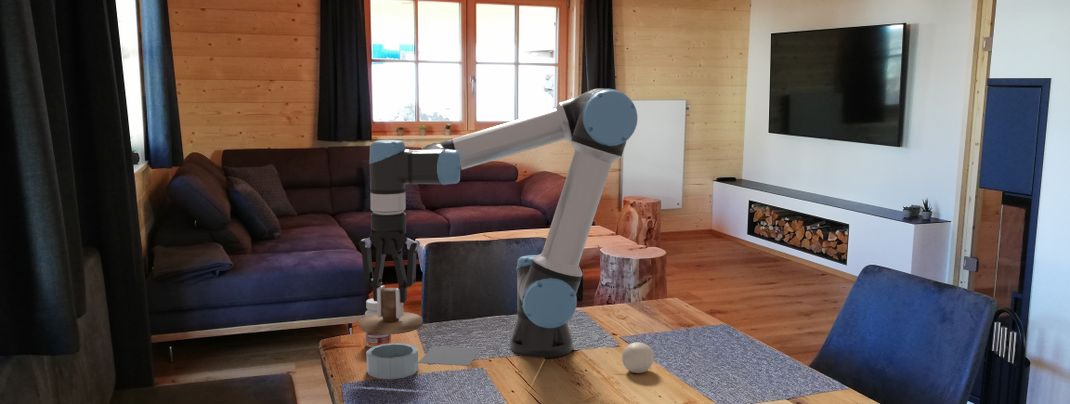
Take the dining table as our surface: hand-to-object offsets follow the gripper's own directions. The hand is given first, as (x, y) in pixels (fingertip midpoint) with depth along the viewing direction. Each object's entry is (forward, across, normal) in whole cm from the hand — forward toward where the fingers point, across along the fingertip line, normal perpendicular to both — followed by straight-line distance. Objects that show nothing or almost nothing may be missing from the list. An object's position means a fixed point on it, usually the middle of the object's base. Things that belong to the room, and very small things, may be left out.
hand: (390, 315), depth 190 cm
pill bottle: (+13, +10, -18) cm, 25 cm away
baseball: (+13, -54, -10) cm, 57 cm away
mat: (+13, -10, -12) cm, 20 cm away
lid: (+2, 0, 0) cm, 2 cm away
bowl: (+13, 0, 0) cm, 13 cm away
